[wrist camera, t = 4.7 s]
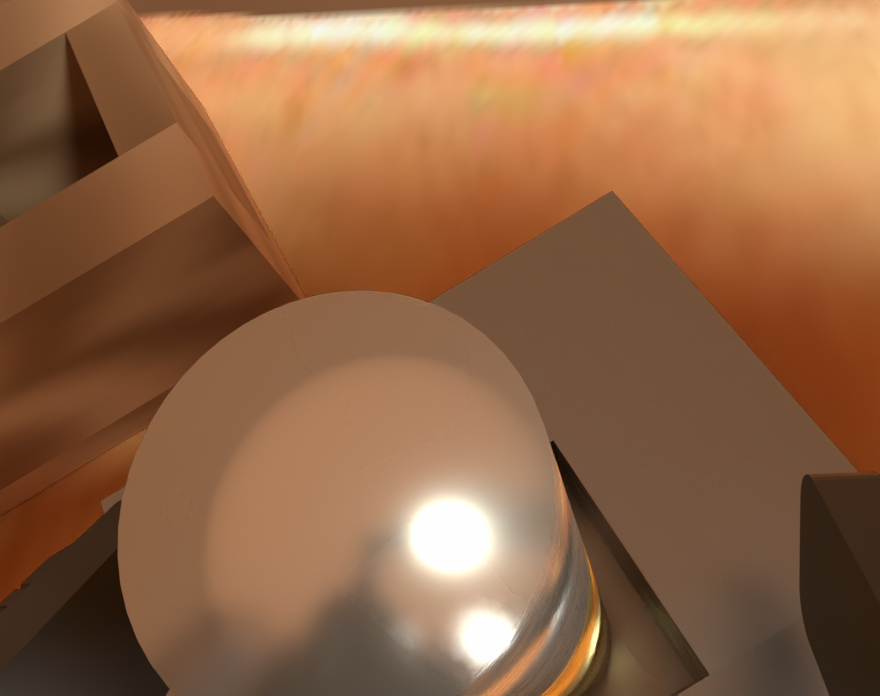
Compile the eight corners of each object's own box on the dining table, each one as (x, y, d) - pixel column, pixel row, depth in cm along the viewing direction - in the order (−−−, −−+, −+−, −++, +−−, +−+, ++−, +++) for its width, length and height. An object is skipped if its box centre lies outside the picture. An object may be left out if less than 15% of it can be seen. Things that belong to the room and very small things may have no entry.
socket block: (617, 295, 19) (612, 190, 15) (999, 771, 14) (1146, 799, 10) (211, 543, 19) (100, 501, 15) (432, 1130, 14) (347, 1308, 10)
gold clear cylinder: (558, 533, 16) (416, 220, 6) (641, 665, 15) (654, 575, 4) (439, 606, 16) (70, 428, 6) (510, 746, 15) (198, 857, 4)
